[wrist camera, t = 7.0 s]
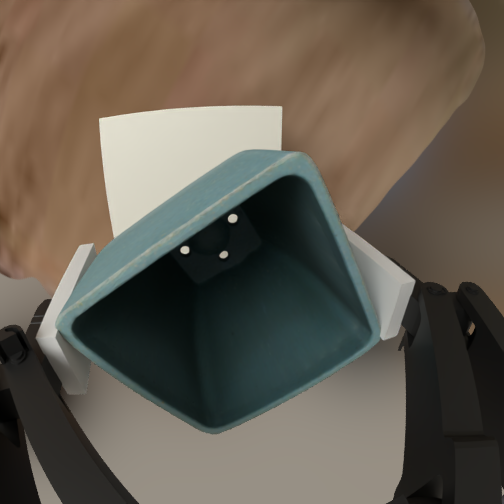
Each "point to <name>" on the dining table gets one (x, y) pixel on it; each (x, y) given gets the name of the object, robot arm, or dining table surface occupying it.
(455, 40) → the dining table surface
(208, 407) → the flower pot
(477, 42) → the dining table surface
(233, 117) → the footstool
